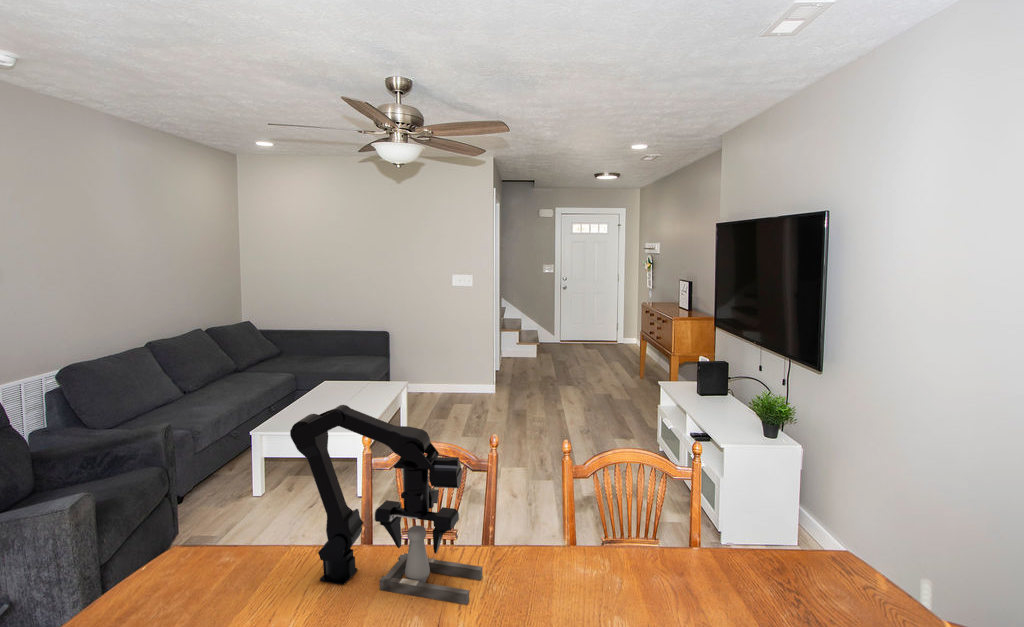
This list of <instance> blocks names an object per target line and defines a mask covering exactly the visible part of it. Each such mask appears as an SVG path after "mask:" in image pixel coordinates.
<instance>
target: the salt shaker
mask: <svg viewBox="0 0 1024 627" xmlns="http://www.w3.org/2000/svg"><path fill="white" fill-rule="evenodd" d="M406 536H407V539H408V540H409V542H408V543H409V545H408V548H407V549H408V550H407V554H408V555H407V561H406V568H405V573H404V575H405V579H410V580H416V581H419V582H422V583H427V580H428V578H429V576H430V573H431V572H430V567H429V562H428V558H429V557H428V552H427V548H426V544H425V539H426V537H427V531H426V528H425V527H424V526H423V525H418V524H417V525H412V526H411V527H408V530H407V533H406Z"/></svg>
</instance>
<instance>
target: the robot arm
mask: <svg viewBox="0 0 1024 627" xmlns="http://www.w3.org/2000/svg"><path fill="white" fill-rule="evenodd" d="M337 427H339V428H342V429H345V430H348V431H351V432H353V433H355V434H357V435H360V436H363V437H364V438H365V437H366V438H368V439H371V440H373V441H376V442H378V443H380V444H382V445H384V446H386V447H388V448H389V449H390V450H391V451H392V452H393V454H394V455H397V456H399V459H397V461H396V462H395V463H394V464H393V468H394V469H401V470H402V478H403V479H402V481H403V484H402V485H403V486H402V487H403V491H402V492H401V493H400V498H401V499H403V507H402V504H401V502H400V501H395V500H385V501H384V502H383V503H382V504H380V505H379V506H378V507H377V508H376V509H375V512H374V521H375V522H379V524H380V526H382V527H383V528H384V529H385V530H386V532H387V533H388V534H389V536H390V537H391V538H392V540H393V542H394V544H395V546H396V548H397V549H400V548H401V547H402V527H401V521H402V518H406V519H414V520H422V521H429V522H433V527H434V529H433V530H432V546H433V548H432V549H433V552H434V554H438V551H439V548H440V545H441V543H442V539H443V537H444V534H446V533H447V532H449V531H452V529H453V528H454V527H455V525H456V524H457V523H458V522H459V520H460V513H459V511H458V510H457V508H453V507H444V506H443V507H441V508H440V509H439V510H438V512H436V511H430V509H433V508H434V506H435V505H437V504H438V502H439V495H440V494H439V493H440V489H439V488H441V489H443V488H444V489H460V487H461V483H462V480H463V478H462V477H463V468H462V464H461V462H460V457H458V456H452V457H439V456H440V452H439V451H438V449H436V447H435V446H434V445H433V443H432V442H431V438H430V436H429V434H428V432H427V431H426V430H425V429H422V428H419V427H413V426H408V425H407V426H406V425H405V426H401V425H394V424H391V423H389V422H386V421H384V420H382V419H379V418H377V417H374V416H371V415H369V414H367V413H363V412H362V411H358V410H357V409H356V410H355V409H353V408H351V407H350V406H348V405H346V404H340V405H337V406H336V407H335V408H332V409H329V410H326V411H324V412H322V413H320V414H317V413H310V414H308V415H306V416H305V417H303V418H301V419H299V420H298V421H297V422H295V423H294V424H293V425H292V427H291V429H290V433H289V435H290V438H291V440H292V442H293V444H294V446H295V448H296V449H297V451H298V453H300V454H302V455H303V456H304V457H305V459H306V460H307V462H308V465H309V468H310V471H311V473H312V477H313V479H314V482H315V486H316V488H317V490H318V493H319V496H320V500H321V503H322V506H323V507H324V512H325V513H326V526H325V530H326V531H325V533H326V538H327V541H326V542H325V543H324V545H323V546H322V547H321V548H320V549H319V550H318V552H317V553H318V557H319V559H320V560H321V561H322V567H323V575H322V576H321V577H320V578H319V582H321V583H322V582H324V583H328V584H334V585H340V586H344V585H346V583H348V581H350V579H351V578H352V577H353V576H354V575H355V574H356V573H357V572H358V567H356V558H355V555H354V549H352V547H353V545H354V544H355V543H356V541H357V540H358V538H360V535H361V534H362V532H363V525H364V521H363V520H362V519H361V516H360V515H361V514H360V511H359V510H360V509H358V508H355V509H354V510H352V508H350V507H349V506H348V504H347V502H346V500H345V497H344V494H343V491H342V488H341V485H340V481H339V479H338V476H337V474H336V470H335V466H334V465H333V461H332V458H331V456H330V453H329V450H328V446H329V431H330V430H332V429H334V428H337ZM425 454H426V455H425ZM429 484H430V485H429ZM432 487H433V488H432ZM435 488H437V489H435Z"/></svg>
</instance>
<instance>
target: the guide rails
mask: <svg viewBox="0 0 1024 627" xmlns="http://www.w3.org/2000/svg"><path fill="white" fill-rule="evenodd" d="M407 555H408V552H407V553H406V552H404V553H403V554H400V555H399V556H398V557H397V560H398V561H397V562H396V563H395V564H394V565H393V566H392V568H390V570H389V571H388V572H387V573H386V575H385V576H384V575H382V576H381V577H380V579H379V580H378V581H379V591H382V592H383V591H384V592H389V593H395V594H400V595H401V594H402V595H407V596H413V597H417V598H418V597H419V598H424V599H425V598H426V599H431V600H437V601H441V602H442V601H443V602H449V603H452V604H453V603H454V604H460V605H468V603H469V602H470V590H469V589H466V588H465V589H464V588H459V587H452V586H446V585H439V584H434V583H427V582H426V583H422V582H419V581H416V580H410V579H407V578H402V577H403V576H404V575H405V568H406V561H407ZM428 562H429V567H430V573H431V572H432V573H431V574H437V573H438V574H439V575H444V576H452V577H458V578H464V579H470V580H476V581H481V580H482V578H483V566H480V565H473V564H467V563H459V562H453V561H446V560H439V559H436V558H433V557H428Z"/></svg>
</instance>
